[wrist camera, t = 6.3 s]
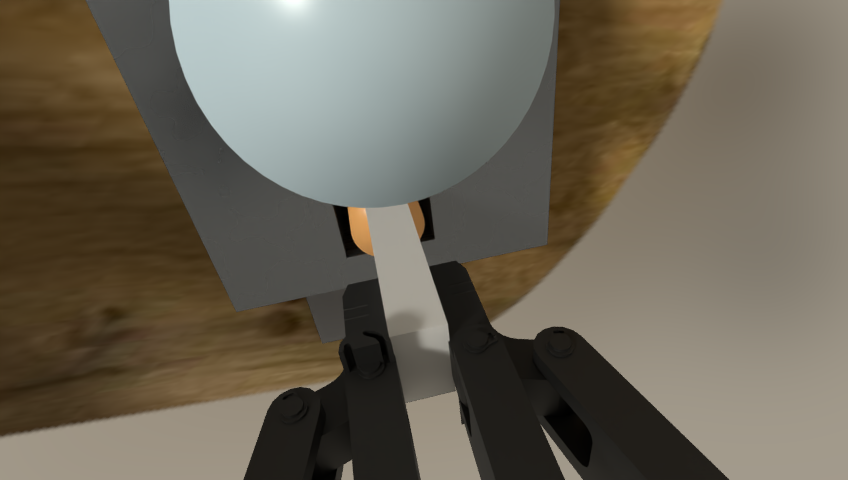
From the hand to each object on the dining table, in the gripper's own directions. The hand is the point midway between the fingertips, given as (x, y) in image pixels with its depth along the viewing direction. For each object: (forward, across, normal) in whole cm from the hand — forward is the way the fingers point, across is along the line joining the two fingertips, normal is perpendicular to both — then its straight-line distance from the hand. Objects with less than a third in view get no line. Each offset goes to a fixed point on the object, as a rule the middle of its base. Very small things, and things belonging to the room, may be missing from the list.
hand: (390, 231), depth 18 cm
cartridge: (+7, 0, +8) cm, 11 cm away
